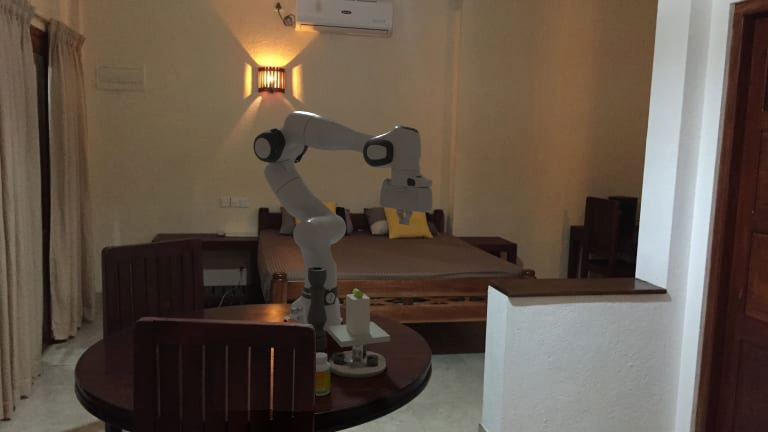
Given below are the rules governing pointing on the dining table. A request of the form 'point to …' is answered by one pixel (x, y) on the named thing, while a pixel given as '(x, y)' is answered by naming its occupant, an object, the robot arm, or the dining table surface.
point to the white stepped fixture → (357, 323)
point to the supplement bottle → (322, 374)
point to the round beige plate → (357, 363)
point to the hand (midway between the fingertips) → (404, 224)
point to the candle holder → (318, 305)
